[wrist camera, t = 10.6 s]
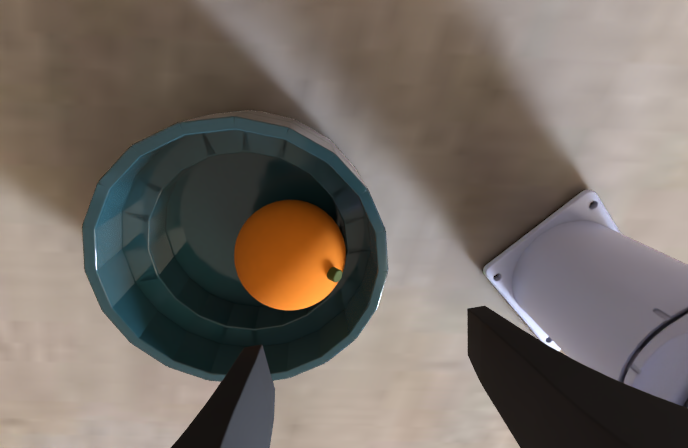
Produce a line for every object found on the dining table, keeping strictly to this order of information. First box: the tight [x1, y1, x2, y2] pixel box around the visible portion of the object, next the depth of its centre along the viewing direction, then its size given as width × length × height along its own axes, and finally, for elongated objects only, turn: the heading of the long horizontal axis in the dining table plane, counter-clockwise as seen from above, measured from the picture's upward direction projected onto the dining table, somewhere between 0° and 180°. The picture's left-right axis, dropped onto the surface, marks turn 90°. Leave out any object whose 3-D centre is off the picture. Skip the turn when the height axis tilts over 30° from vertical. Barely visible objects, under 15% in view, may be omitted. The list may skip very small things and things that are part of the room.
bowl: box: [82, 110, 388, 382], centre depth 18 cm, size 13×13×5 cm
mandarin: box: [234, 200, 346, 310], centre depth 17 cm, size 5×5×6 cm
